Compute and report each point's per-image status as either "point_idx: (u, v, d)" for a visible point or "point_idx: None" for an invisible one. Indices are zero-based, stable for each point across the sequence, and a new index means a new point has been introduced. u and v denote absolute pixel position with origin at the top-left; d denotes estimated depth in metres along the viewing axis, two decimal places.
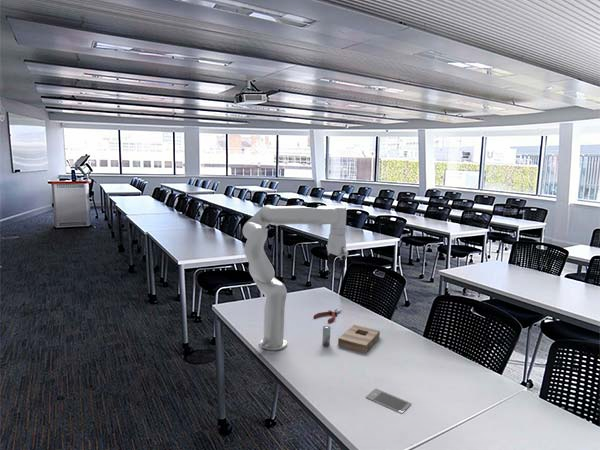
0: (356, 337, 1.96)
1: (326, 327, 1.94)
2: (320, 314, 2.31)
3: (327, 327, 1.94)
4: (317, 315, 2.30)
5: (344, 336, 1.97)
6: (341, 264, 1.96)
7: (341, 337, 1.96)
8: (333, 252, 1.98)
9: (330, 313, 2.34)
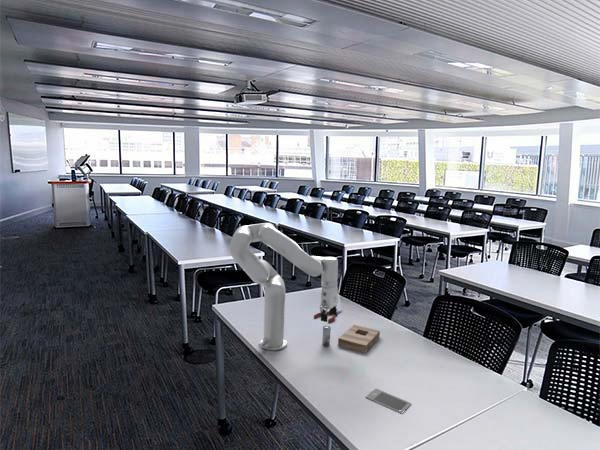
0: (356, 337, 1.96)
1: (326, 327, 1.94)
2: (320, 314, 2.32)
3: (327, 327, 1.94)
4: (317, 315, 2.30)
5: (344, 336, 1.97)
6: None
7: (341, 337, 1.96)
8: (335, 304, 1.92)
9: None
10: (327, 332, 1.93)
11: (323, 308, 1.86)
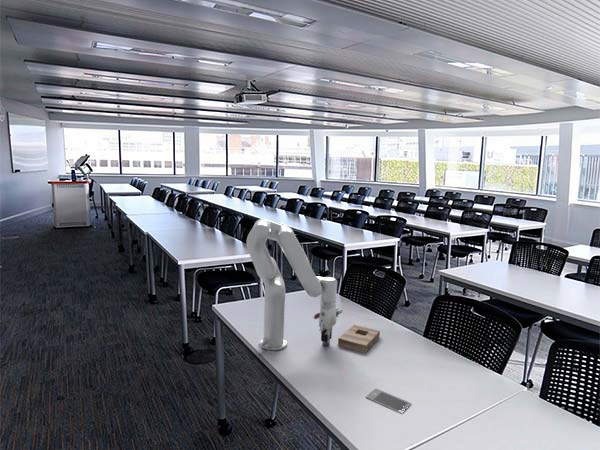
0: (356, 337, 1.96)
1: None
2: None
3: None
4: (318, 315, 2.30)
5: (344, 336, 1.97)
6: None
7: (341, 337, 1.96)
8: (333, 324, 1.93)
9: None
10: (327, 332, 1.93)
11: None
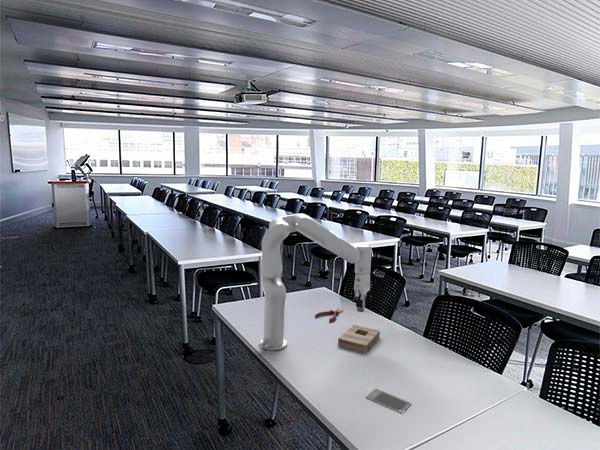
0: (356, 337, 1.96)
1: None
2: (321, 313, 2.32)
3: None
4: (318, 314, 2.31)
5: (344, 336, 1.97)
6: None
7: (341, 337, 1.96)
8: (367, 290, 1.98)
9: (331, 312, 2.35)
10: (362, 298, 1.98)
11: (358, 295, 1.95)
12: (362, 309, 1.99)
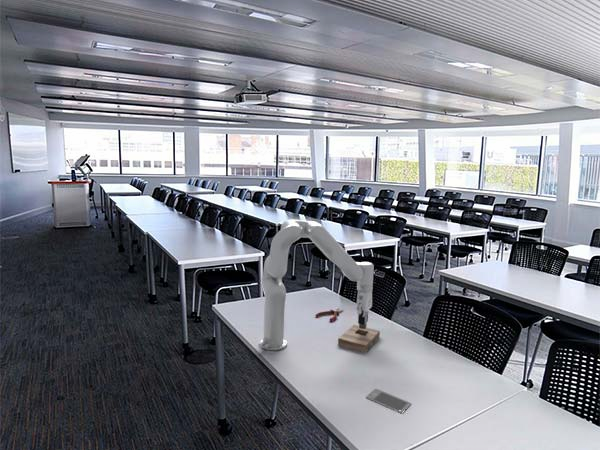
0: (356, 337, 1.96)
1: None
2: (322, 313, 2.33)
3: None
4: (319, 314, 2.31)
5: (344, 336, 1.97)
6: None
7: (341, 337, 1.96)
8: (369, 307, 2.01)
9: (332, 312, 2.35)
10: (364, 315, 2.00)
11: None
12: (364, 326, 2.01)
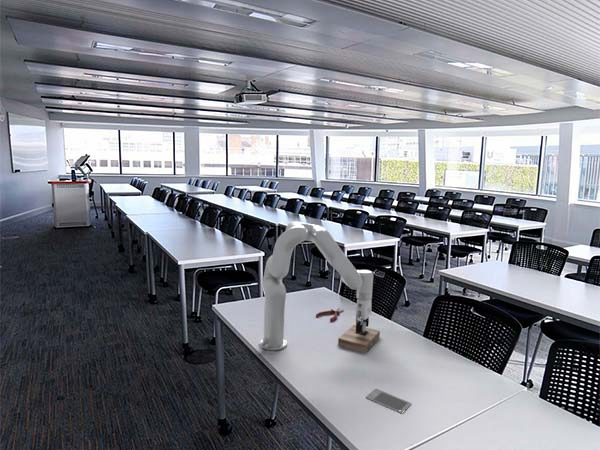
0: (356, 337, 1.96)
1: (362, 322, 2.02)
2: (322, 313, 2.33)
3: (363, 322, 2.02)
4: (319, 314, 2.31)
5: (344, 336, 1.97)
6: None
7: (341, 337, 1.96)
8: (369, 315, 2.01)
9: (332, 312, 2.36)
10: (363, 327, 2.01)
11: None
12: None
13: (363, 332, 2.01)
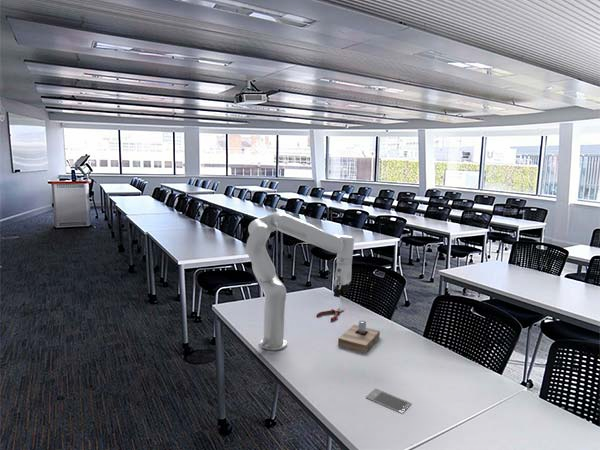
0: (356, 337, 1.96)
1: (362, 322, 2.02)
2: (323, 313, 2.33)
3: (363, 322, 2.02)
4: (320, 314, 2.32)
5: (344, 336, 1.97)
6: None
7: (341, 337, 1.96)
8: (348, 281, 1.99)
9: (333, 312, 2.36)
10: (363, 327, 2.01)
11: (337, 283, 1.93)
12: None
13: (363, 332, 2.01)
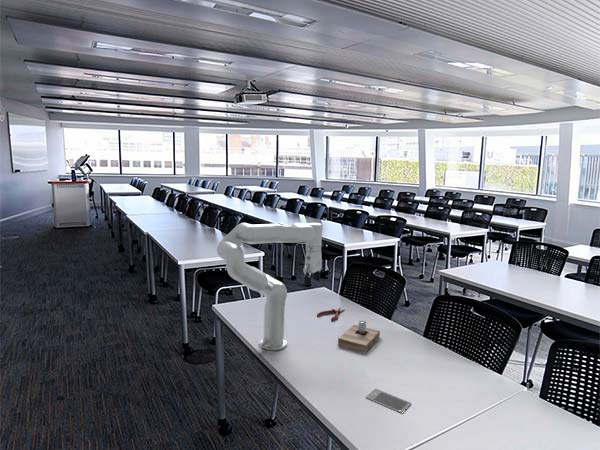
0: (356, 337, 1.96)
1: (362, 322, 2.02)
2: (323, 312, 2.34)
3: (363, 322, 2.02)
4: (320, 313, 2.32)
5: (344, 336, 1.97)
6: None
7: (341, 337, 1.96)
8: (318, 268, 1.98)
9: (333, 312, 2.37)
10: (363, 327, 2.01)
11: (306, 271, 1.92)
12: None
13: (363, 332, 2.01)
